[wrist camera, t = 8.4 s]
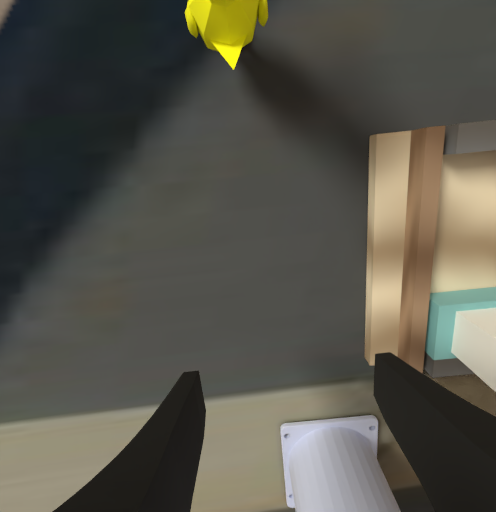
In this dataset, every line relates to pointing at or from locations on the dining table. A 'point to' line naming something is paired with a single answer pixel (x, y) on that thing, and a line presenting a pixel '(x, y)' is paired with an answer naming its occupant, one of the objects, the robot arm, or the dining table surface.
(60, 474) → the dining table surface
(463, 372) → the track
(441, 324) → the slider
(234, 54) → the toy figure
